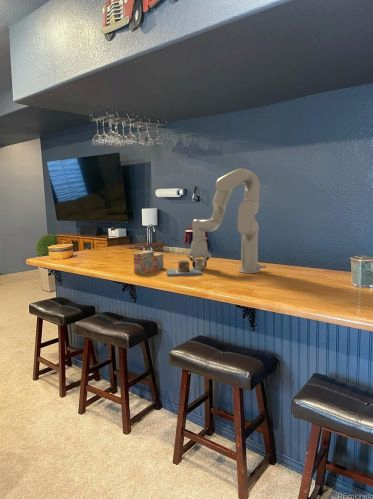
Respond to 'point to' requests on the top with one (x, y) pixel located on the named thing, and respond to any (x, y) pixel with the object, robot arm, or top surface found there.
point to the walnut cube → (183, 266)
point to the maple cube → (200, 264)
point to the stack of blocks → (147, 261)
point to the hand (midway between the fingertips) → (199, 267)
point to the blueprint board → (176, 272)
